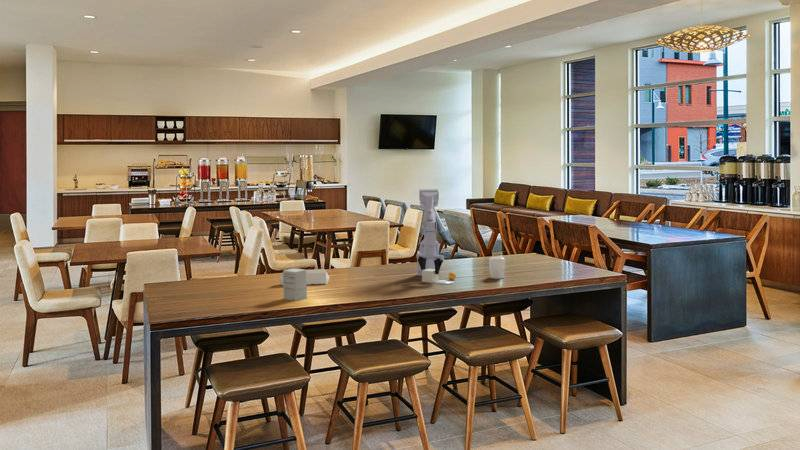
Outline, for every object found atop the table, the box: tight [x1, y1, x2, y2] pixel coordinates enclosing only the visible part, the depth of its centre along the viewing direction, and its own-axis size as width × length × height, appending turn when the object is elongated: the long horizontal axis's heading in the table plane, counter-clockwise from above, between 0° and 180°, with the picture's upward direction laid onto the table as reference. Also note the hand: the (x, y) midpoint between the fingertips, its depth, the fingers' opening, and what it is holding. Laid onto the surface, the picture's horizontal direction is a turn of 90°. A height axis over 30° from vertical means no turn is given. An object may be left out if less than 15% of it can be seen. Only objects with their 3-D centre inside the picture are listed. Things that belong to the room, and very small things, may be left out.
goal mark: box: [432, 279, 455, 285], centre depth 348 cm, size 10×10×1 cm
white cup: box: [488, 256, 506, 280], centre depth 359 cm, size 8×8×10 cm
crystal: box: [279, 268, 330, 286], centre depth 347 cm, size 7×7×24 cm
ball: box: [447, 271, 457, 281], centre depth 354 cm, size 4×4×4 cm
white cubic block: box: [421, 269, 439, 284], centre depth 351 cm, size 6×6×6 cm
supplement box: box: [282, 267, 308, 302], centre depth 312 cm, size 7×7×13 cm
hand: (430, 273), depth 350 cm, fingers open, 7 cm apart
